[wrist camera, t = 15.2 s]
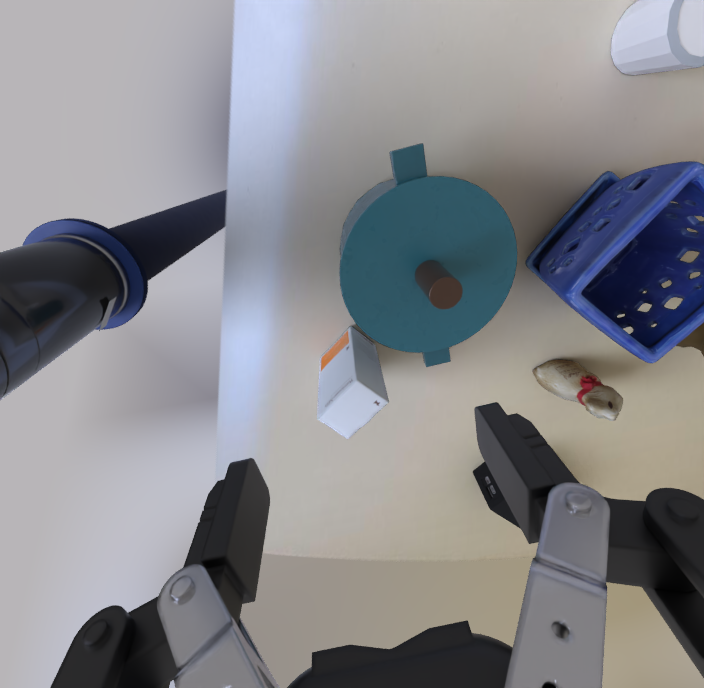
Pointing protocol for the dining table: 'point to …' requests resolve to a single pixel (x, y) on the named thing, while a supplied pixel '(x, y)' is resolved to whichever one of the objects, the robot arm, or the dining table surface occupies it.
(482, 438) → the robot arm
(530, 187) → the dining table surface
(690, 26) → the shot glass
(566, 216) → the flower pot
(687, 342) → the kendama
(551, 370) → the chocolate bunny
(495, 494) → the digital camera
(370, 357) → the cosmetic box
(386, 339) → the lid
